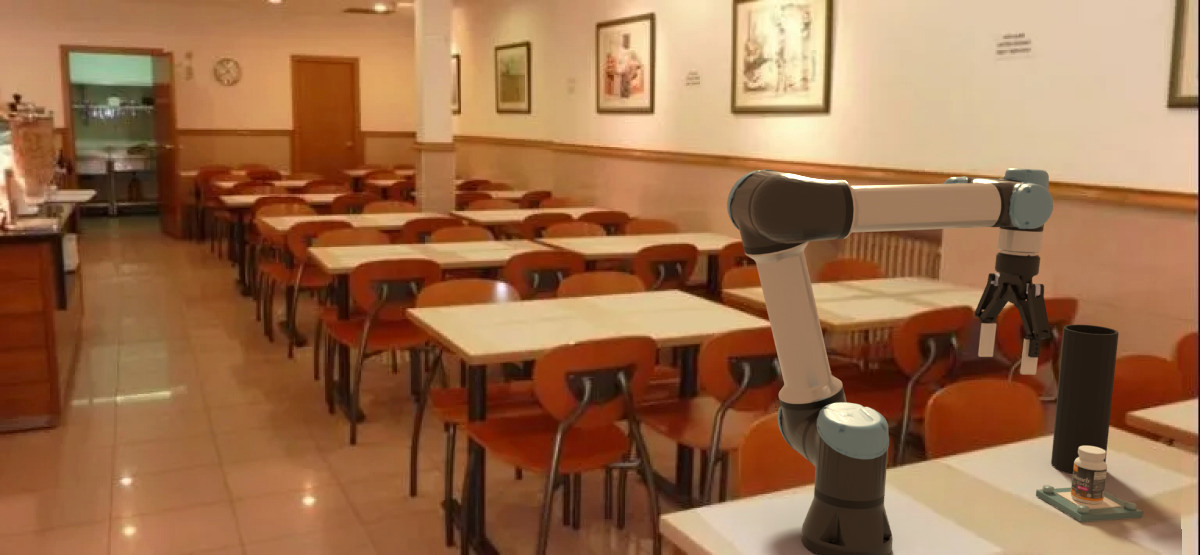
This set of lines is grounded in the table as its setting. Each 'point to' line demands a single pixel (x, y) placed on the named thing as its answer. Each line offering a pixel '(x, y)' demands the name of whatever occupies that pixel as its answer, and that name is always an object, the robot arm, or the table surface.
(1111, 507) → the plate
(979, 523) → the table surface
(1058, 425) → the vase
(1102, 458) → the pill bottle
